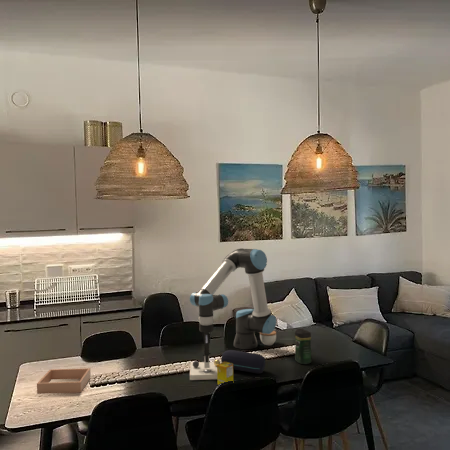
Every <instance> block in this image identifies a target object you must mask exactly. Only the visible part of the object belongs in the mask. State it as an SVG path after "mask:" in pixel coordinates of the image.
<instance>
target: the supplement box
mask: <svg viewBox="0 0 450 450" xmlns="http://www.w3.org/2000/svg"><path fill="white" fill-rule="evenodd" d="M216 380H217V381H216V382H217V386H218V385H219V384H221V383H224V382H228V381H233V382H234V369H233V364H232V363H228V362H222V363H220V364H217V379H216Z"/></svg>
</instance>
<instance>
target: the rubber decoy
mask: <svg viewBox="0 0 450 450" xmlns="http://www.w3.org/2000/svg"><path fill="white" fill-rule="evenodd" d="M199 362H200V361H198V360H193V362H192V363H193V366H194V367H198V366H199Z"/></svg>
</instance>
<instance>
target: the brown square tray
mask: <svg viewBox="0 0 450 450" xmlns="http://www.w3.org/2000/svg"><path fill="white" fill-rule="evenodd" d="M90 377H91V368H89V367H88V368H83V367H82V368H60V369H59V368H58V369H57V368H56V369H55V368H54V369H49V370H48V371H47V372H46V373H45V374H44V375H43V376H42V377H41V378H40V379H39V381H38V382H37V383H36V394H37V395H43V394H44V395H45V394H47V395H48V394H69V393H70V394H71V393H72V394H74V393H76V394H77V393H82V391H83V390H84V389H85V387H86V386H87V384H88V382H89V381H90V379H91V378H90ZM76 379H77V380H78V379H80V380H79V381H60V382H59V381H55V382H54V381H53V382H51V381H52V380H76Z"/></svg>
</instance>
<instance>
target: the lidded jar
mask: <svg viewBox="0 0 450 450" xmlns="http://www.w3.org/2000/svg"><path fill="white" fill-rule="evenodd" d="M259 339H260V342H261V343H262V344H263V346H272V345H274V343H275V342H276V340H277V331H276V330H273V332H272V333H270V334H263V333H259Z"/></svg>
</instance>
